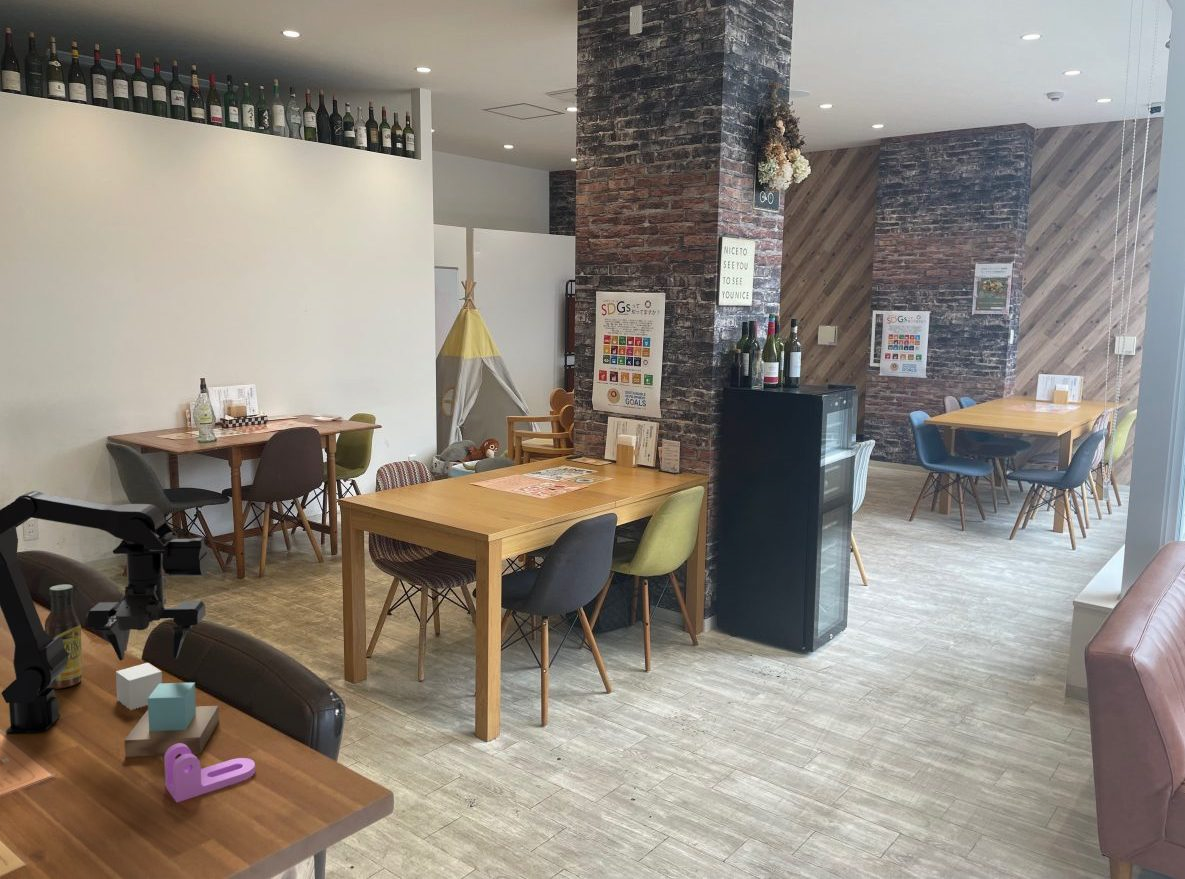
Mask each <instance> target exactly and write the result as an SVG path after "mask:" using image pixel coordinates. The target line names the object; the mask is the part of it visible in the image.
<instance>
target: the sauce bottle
mask: <svg viewBox="0 0 1185 879" xmlns="http://www.w3.org/2000/svg"><path fill="white" fill-rule="evenodd" d="M48 591H49V593H48V594H49V596H50V611H49V613H48V615H47V617H46V619H45V621H44V631H45V632H46V633H47V634H48V635H49V636H50V637H52V638H53V639H55V638H57V637H59V636H61V638H62V640H63V645H64V648H65V650H66V651H67V653H68V654H69V656H68V657H67V666H66V668H65V670H64V671H63V672H62V673H61V674H60V675H59V676H58V677H57V680H56V682H55V683H53V684H52V685H51V686H50V687H49V688H54V689H64V688H70V687H72V686H73V687H74V686H76V685H78V684H79V683H80V682H81V681H82V678H83V676H82V674H83V657H82V656H83V654H82V651H83V650H82V649H83V648H82V625H81V623H80V621H79V618H78V616H77V614H76V611H75V608H74V602H73V601H74V600H73V595H74V586H73V585H71V584H57V585H54V586H51V587H49V590H48Z"/></svg>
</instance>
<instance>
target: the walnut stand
mask: <svg viewBox="0 0 1185 879" xmlns="http://www.w3.org/2000/svg"><path fill="white" fill-rule="evenodd" d="M219 710H220V708H219V705H205V706H202V705H201V706H200V705H199V706H196V715H195V716H194V718H193V719H192V721H191V723H190V724H189V726H188V727H187V729H186V730H168V731H149V718H148V709H147V710H146V711H145V713H144V714H143V715H142V716H141V718H140V719H139V721H138V722H137V723H136V724H135V725H134V727H133V728H132V730H131V731H130V732H129V734H128V735H127V736H126V737H125V739H124V753H125V757H127V758H130V757H132V758H133V757H151V756H153V757H154V756H165V753H166V751H167V750H168V749H169V748H170V747H171V746H172V745H174V744H177V743H183V744H185V745H187V747H188V748H189V749H190V750H191V753H192V754H193V755H199V754H202V751H203V749H204V748H205V747H206V745H207V743H208V741H209V739H210V738H211V736H212V734H213V733H214V730H215V729H216V727H217V725H218V724H219V722H220V719H219V718H220V717H219V715H220V714H219ZM177 756H179V754H178V755H177ZM180 756H181V754H180Z"/></svg>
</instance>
